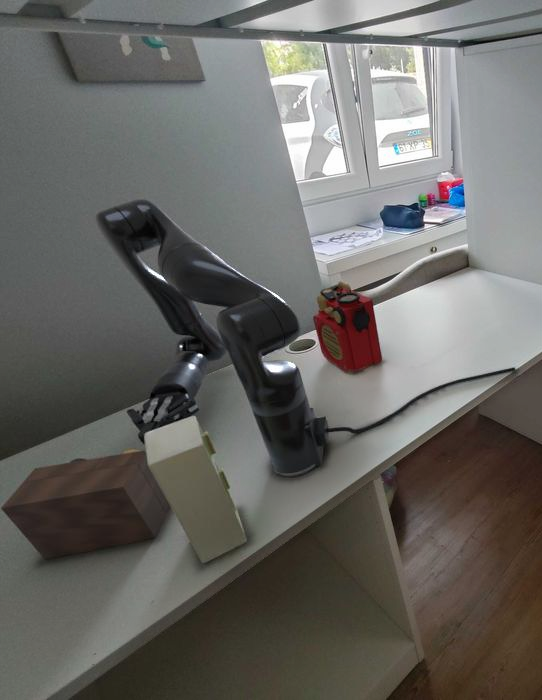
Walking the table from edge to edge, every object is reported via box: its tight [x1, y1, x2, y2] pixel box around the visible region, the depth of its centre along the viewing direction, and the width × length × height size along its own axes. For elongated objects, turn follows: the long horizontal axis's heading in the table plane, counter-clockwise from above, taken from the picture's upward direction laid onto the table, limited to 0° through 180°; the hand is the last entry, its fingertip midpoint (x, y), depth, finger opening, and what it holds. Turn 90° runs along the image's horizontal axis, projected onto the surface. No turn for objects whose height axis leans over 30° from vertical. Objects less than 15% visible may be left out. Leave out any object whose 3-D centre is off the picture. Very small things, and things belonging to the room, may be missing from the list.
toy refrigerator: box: [144, 415, 248, 564], centre depth 67 cm, size 8×7×21 cm
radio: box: [312, 280, 383, 372], centre depth 112 cm, size 16×10×20 cm, turn 45°
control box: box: [0, 449, 171, 560], centre depth 72 cm, size 16×11×12 cm
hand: (145, 440), depth 80 cm, fingers closed
